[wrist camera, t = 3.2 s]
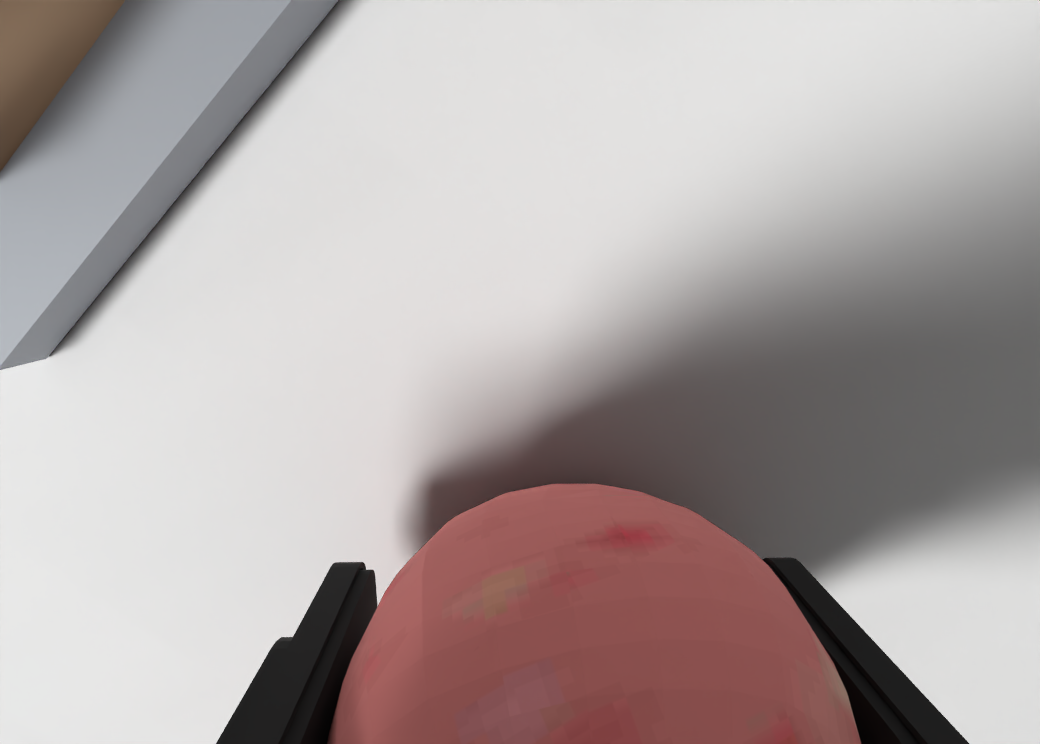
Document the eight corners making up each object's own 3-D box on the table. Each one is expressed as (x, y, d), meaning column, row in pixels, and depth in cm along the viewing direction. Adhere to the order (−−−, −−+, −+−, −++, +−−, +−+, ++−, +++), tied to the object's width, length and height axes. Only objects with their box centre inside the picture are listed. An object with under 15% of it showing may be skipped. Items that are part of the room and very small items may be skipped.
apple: (386, 418, 10) (36, 928, 3) (721, 411, 11) (1318, 867, 3) (410, 690, 12) (248, 1450, 5) (693, 679, 12) (1003, 1391, 5)
